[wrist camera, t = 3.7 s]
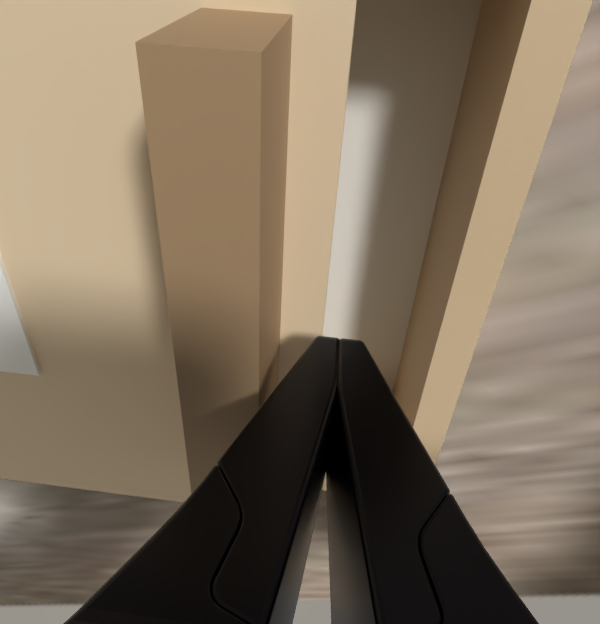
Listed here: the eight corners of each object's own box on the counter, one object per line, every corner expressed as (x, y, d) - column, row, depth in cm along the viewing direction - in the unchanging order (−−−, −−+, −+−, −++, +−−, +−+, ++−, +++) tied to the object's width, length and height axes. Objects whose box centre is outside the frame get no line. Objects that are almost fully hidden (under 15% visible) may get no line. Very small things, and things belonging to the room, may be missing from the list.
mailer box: (544, -102, 10) (630, -113, 6) (413, 396, 17) (422, 502, 14) (-181, -148, 10) (-427, -177, 7) (8, 349, 18) (-69, 440, 15)
